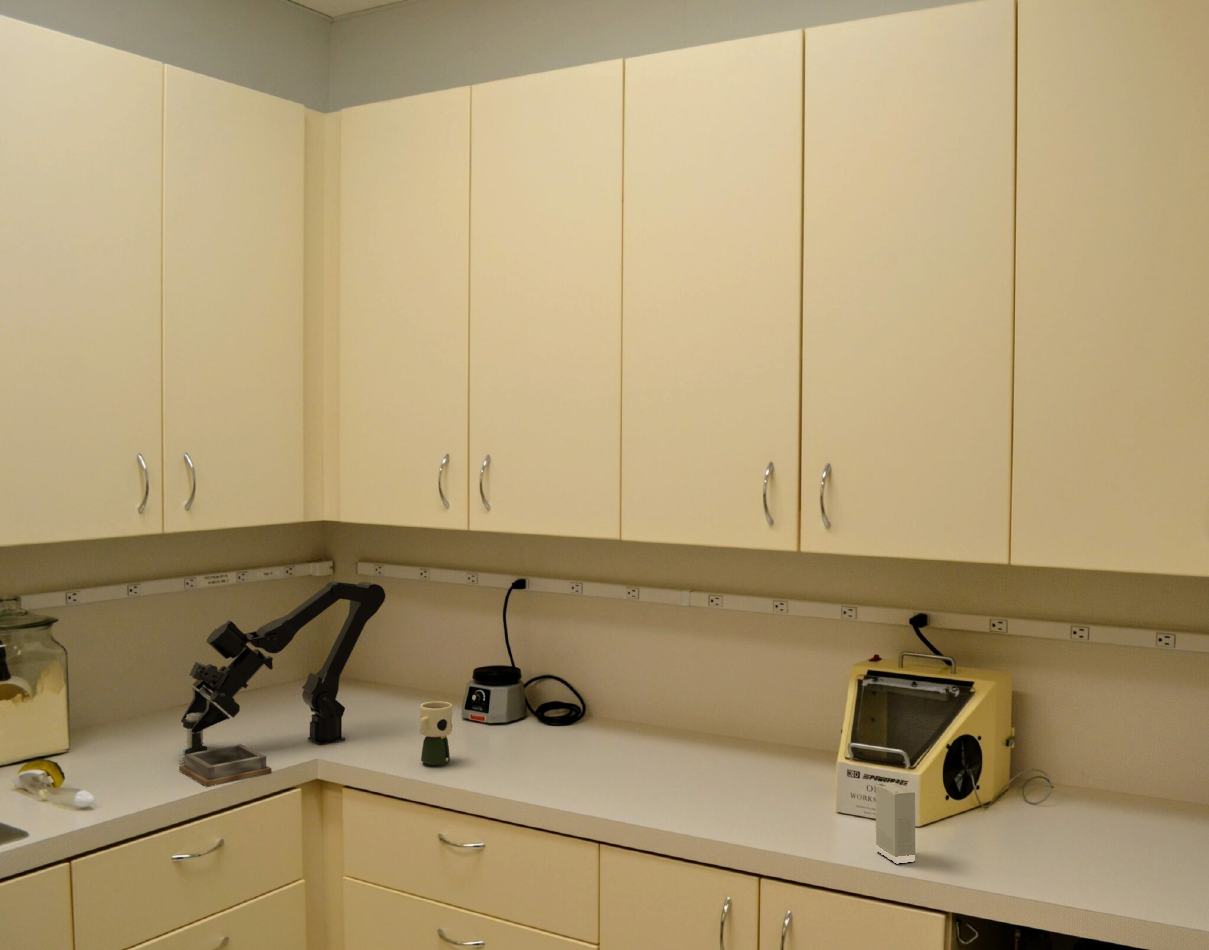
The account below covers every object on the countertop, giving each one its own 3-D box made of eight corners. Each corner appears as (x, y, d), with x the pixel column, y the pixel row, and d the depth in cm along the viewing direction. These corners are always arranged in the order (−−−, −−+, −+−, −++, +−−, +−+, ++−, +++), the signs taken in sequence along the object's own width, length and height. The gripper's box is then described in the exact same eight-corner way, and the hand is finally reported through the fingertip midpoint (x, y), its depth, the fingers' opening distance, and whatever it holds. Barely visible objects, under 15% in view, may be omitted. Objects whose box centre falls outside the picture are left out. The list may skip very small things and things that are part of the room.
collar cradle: (242, 758, 228) (242, 742, 228) (271, 772, 218) (271, 756, 218) (179, 770, 218) (179, 754, 218) (206, 786, 208) (206, 769, 208)
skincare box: (916, 862, 175) (918, 792, 175) (894, 865, 173) (895, 794, 173) (894, 849, 181) (896, 781, 180) (873, 852, 179) (874, 783, 179)
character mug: (434, 772, 220) (435, 712, 220) (407, 767, 223) (407, 708, 223) (462, 759, 230) (463, 701, 230) (436, 755, 233) (437, 697, 233)
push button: (187, 766, 222) (188, 720, 221) (171, 762, 224) (171, 716, 224) (213, 758, 228) (213, 713, 227) (196, 754, 230) (196, 710, 230)
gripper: (203, 642, 236) (150, 695, 229) (225, 656, 220) (170, 713, 214) (237, 673, 240) (187, 726, 234) (261, 688, 225) (208, 746, 219)
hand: (187, 727), depth 225 cm, fingers open, 9 cm apart
